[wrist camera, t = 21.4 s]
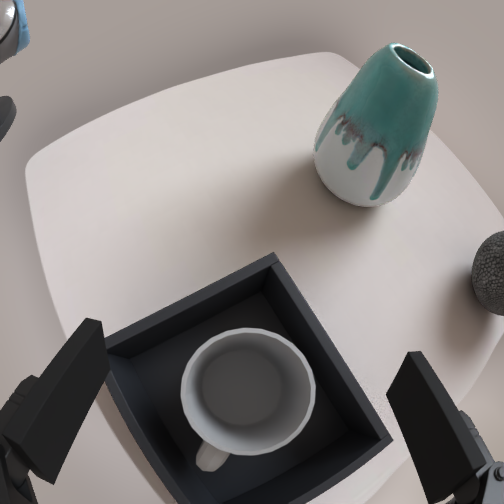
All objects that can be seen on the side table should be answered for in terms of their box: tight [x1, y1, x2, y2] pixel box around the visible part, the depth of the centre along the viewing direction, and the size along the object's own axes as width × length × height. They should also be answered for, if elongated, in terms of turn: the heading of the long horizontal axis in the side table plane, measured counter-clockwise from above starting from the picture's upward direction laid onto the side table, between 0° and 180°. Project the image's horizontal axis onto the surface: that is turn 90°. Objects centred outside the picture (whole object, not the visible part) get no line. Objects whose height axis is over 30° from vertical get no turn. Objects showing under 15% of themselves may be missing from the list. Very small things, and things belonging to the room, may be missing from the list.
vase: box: [313, 43, 438, 207], centre depth 26 cm, size 12×12×18 cm
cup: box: [181, 328, 316, 472], centre depth 18 cm, size 7×10×9 cm
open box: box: [104, 252, 393, 504], centre depth 20 cm, size 17×15×7 cm
